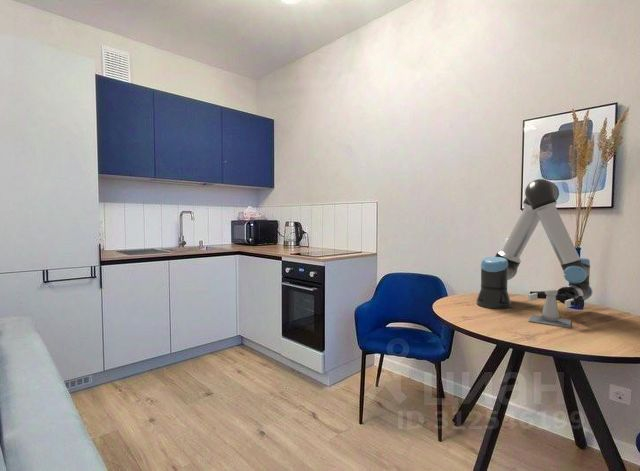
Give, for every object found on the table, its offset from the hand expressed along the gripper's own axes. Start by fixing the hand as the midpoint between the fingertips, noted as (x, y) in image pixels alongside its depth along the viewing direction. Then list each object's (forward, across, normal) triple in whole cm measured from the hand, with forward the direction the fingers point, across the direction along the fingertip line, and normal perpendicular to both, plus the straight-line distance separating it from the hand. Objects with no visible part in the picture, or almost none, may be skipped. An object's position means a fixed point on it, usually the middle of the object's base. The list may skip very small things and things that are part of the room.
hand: (546, 300), depth 140 cm
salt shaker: (-3, 0, -9) cm, 9 cm away
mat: (-3, 0, -9) cm, 10 cm away
